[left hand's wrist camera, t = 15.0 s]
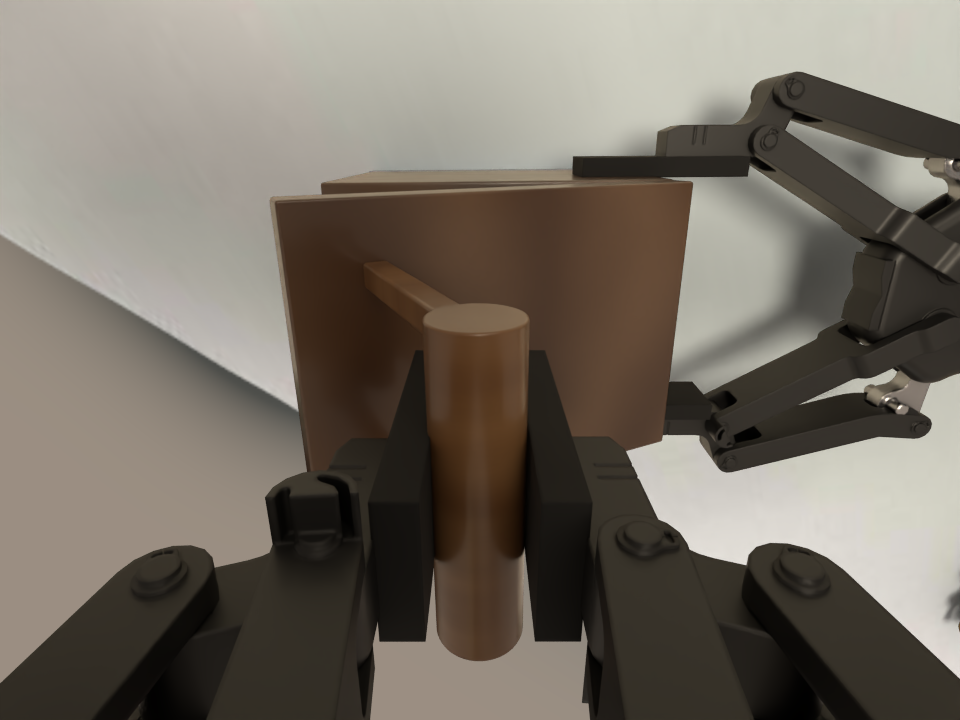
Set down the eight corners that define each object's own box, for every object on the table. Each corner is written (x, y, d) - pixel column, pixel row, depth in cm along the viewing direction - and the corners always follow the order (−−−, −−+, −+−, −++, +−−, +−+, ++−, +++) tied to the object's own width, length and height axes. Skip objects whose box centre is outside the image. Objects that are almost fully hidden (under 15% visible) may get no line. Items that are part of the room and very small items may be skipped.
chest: (385, 347, 33) (345, 428, 24) (372, 171, 30) (319, 182, 20) (600, 346, 33) (647, 427, 24) (613, 168, 30) (675, 179, 20)
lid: (313, 515, 18) (390, 762, 11) (268, 196, 15) (339, 244, 7) (641, 428, 24) (842, 554, 16) (668, 179, 20) (940, 197, 13)
